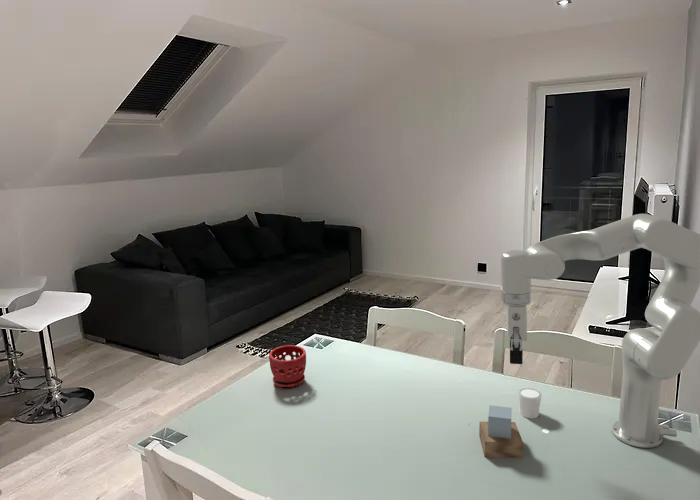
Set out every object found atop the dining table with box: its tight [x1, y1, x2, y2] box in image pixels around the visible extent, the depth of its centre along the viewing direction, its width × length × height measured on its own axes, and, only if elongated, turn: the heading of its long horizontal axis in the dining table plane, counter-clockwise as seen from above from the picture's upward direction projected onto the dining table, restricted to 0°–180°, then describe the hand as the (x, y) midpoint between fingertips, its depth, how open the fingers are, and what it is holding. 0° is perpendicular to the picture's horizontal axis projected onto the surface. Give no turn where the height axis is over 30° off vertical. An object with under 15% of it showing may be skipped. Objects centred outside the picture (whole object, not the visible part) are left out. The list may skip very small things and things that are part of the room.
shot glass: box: [517, 387, 542, 419], centre depth 161 cm, size 7×7×7 cm
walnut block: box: [478, 421, 524, 459], centre depth 145 cm, size 10×10×5 cm
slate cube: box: [487, 404, 513, 439], centre depth 144 cm, size 6×6×6 cm
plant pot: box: [268, 344, 307, 388], centre depth 186 cm, size 13×13×12 cm
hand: (515, 355), depth 143 cm, fingers open, 9 cm apart
